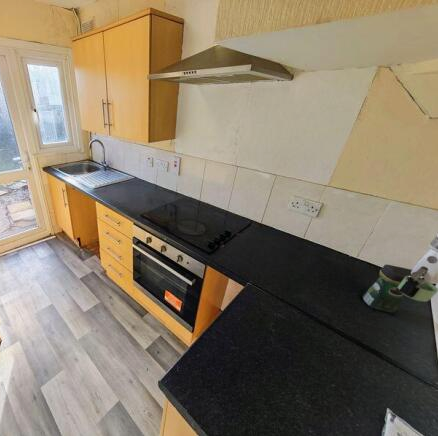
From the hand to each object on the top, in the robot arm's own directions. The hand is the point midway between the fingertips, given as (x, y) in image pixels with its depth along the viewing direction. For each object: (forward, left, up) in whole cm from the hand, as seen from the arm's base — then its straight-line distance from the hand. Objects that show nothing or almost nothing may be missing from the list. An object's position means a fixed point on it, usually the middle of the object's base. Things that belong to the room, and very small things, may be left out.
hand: (413, 291), depth 73 cm
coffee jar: (-11, -9, -19) cm, 23 cm away
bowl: (0, 0, -1) cm, 1 cm away
